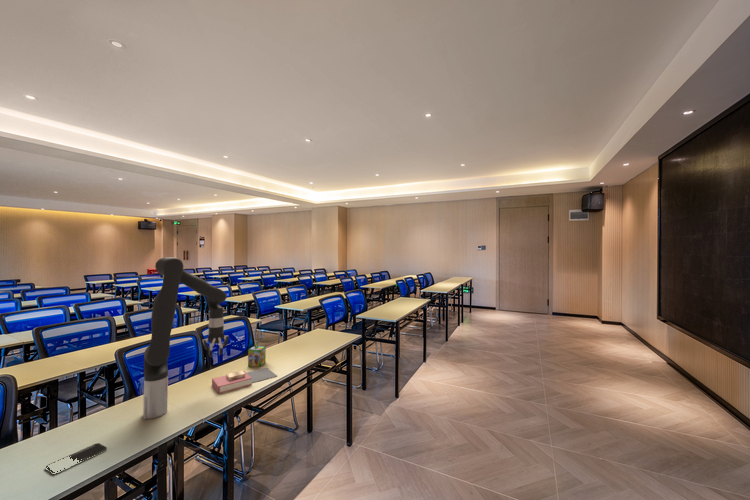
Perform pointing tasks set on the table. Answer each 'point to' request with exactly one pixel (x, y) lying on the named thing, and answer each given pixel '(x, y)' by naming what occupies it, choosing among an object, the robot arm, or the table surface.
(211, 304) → the robot arm
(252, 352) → the chalk box
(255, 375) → the desk mat
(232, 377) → the block
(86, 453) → the phone
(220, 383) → the book deck
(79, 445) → the table surface
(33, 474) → the table surface
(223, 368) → the table surface
